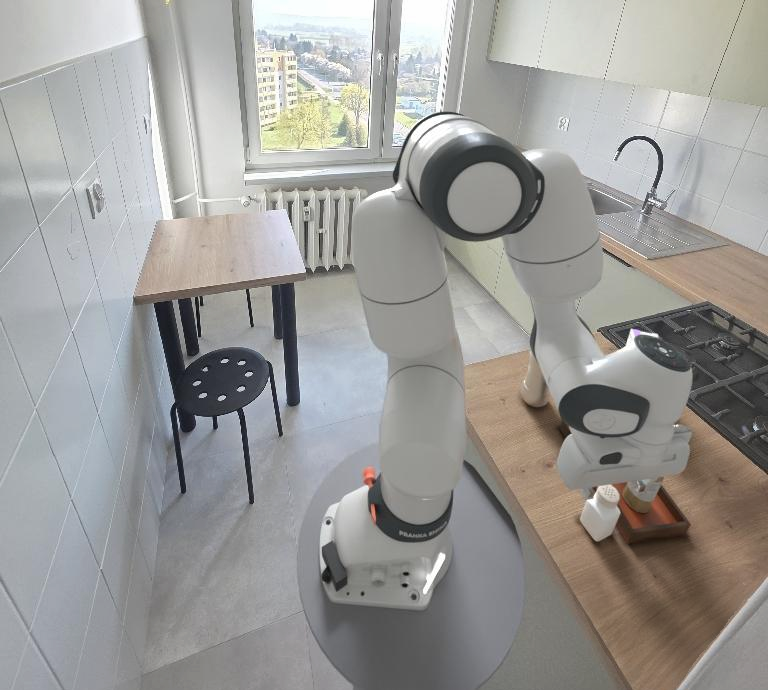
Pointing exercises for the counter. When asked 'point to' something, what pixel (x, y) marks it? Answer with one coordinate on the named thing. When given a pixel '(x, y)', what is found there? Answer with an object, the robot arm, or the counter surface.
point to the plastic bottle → (535, 385)
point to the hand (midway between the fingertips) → (611, 491)
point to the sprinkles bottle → (641, 496)
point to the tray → (647, 514)
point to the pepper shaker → (601, 512)
